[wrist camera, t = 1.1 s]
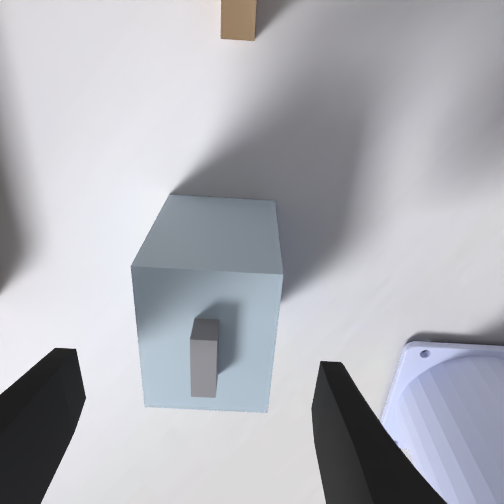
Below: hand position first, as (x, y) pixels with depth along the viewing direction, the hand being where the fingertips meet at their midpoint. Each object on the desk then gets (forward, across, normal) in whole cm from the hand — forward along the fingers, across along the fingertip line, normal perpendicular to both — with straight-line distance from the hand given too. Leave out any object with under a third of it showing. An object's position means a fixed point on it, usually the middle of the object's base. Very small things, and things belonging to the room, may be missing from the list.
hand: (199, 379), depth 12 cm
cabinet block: (+7, 0, 0) cm, 7 cm away
